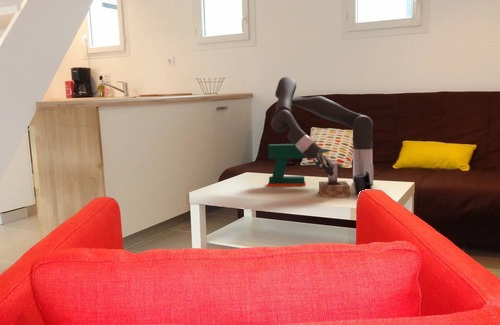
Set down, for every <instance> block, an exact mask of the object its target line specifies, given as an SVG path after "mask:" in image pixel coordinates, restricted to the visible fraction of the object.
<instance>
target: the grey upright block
mask: <svg viewBox="0 0 500 325" xmlns="http://www.w3.org/2000/svg"><path fill="white" fill-rule="evenodd" d="M328 167H329V168H330V169H331V170H332V171H333V172H334V174H333V175H332V176H329V175H328V174H327V178H328V179H327V181H328V185H337V181H338V162H337V161H330V162H328Z"/></svg>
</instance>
